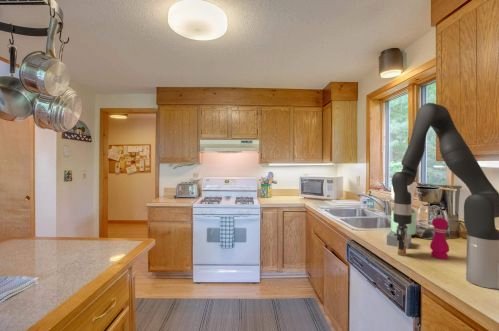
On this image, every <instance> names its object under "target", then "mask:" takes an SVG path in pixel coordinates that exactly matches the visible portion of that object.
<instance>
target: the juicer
mask: <svg viewBox="0 0 499 331" xmlns="http://www.w3.org/2000/svg"><path fill="white" fill-rule="evenodd" d="M407 188H408V192H410V193H411V207H412V223H411V224H406V226H407V227H408V229H407V235H411V237H415V236H414V235H416V234H417V233H416V231H417V230H416V223H417V221H416V220H417V216H416V214H417V213H416V211H415V209H414V208H413V204H414V198H415V194H416V189H417V179H415V180H414V182H413V183H412V184H411V185H409V186H407ZM390 192H391V194H390V195H391V196H390V197H391V199H392V201H393V202H394V195H395V194H394V191H393V186H392V185H391V191H390ZM390 212H391V213H390V215H391V216H390V232H395V233H397V231H396V230H397V226H398V225H399V224H398V223H395V222H394V221H393V212H394V207H392V209H391V211H390Z"/></svg>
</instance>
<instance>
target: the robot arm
mask: <svg viewBox="0 0 499 331" xmlns="http://www.w3.org/2000/svg"><path fill="white" fill-rule="evenodd" d="M415 116H416V117H415V120H414V125H413V129H412V132H411V136H410V139H409V142H408V143H409V144H408V145H407V148H406V150H405V153H404V155H403V157H402V158H401V159H402V160H401V165H402V169H401V171H397V172H395V173H393V175H392V176H391V187H392V186H393V191H394V194H395V195H394V201H393V208H394V212H393V221H394V222H395V223H398V224H399V225H398V226H397V230H396V231H397V241H398V247H397V250H398V249H400V250H404V237H406V238H407V229H408V227H407V226H406V224H411V223H412V209H413V206H412V207H411V193H410V192H408V188H407V186H409V185H411V184H412V183H413V182H414V180H416V177H417V174H418V169H419V168H418V167H419V165H420V163H421V162H422V159H423V157H424V153H425V150H426V139H427V134H428V132H429V130H430V127H431V128H432V129H433V131H434V132H435V135H437V138H438V142H439V145H438V146H439V153H440V155H441V157H442V159H443V161H444V163H445V164H446V166H447V167H448V170H449V171H450V172H452V173H453V174H454V175H455V176H456V177H457V178H458V179H459V180H461V182H462V183H464V184H465V186H466V188H468V190H469V192H470V195H468V196H467V197H466V198H465V200H464V204H463V219H464V220H463V223H464V227H465V229H466V258H465V260H466V262H465V264H466V265H465V266H466V268H465V269H466V270H465V272H466V273H465V279H466V280H467V282H469V283H471V284H473V285H476V286H479V287H482V288H488V289H495V290H496V289H497V290H499V229H497V228H496V222H495V221H496V218H499V192H498V190H497V189H496V188H495V187H494V185H493V184H492V183H491V182H490V180H489V179H488V177H487V176H486V174H485V172H484V170H483V168H481V166H480V164H479V162H478V161H477V159H476V157H475V156H474V153H473V152H472V150H471V148H470V147H469V146H468V145H467V143H466V141H465V140H464V138H463V137H462V135H461V133H460V132H459V130H458V129H457V127H456V125H455V124H454V121H453V119H452V116H451V113H450V111H449V110H448V109H447V107H445V106H444V105H441V104H438V103H434V102H428V103H424V104H423V105H421V106H420V108H418V111H417V113H416V115H415ZM400 237H401V238H402V239H400Z"/></svg>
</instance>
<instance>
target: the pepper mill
mask: <svg viewBox="0 0 499 331" xmlns="http://www.w3.org/2000/svg"><path fill="white" fill-rule="evenodd" d="M431 225H432V226H433V229H432V230H433V232H434V233H433V234H434V235H433V238H432V240H431V242H430V244H429V247H430V249H431V253H430V256H431V257H433V258H436V259H438V258H439V259H440V260H447V259H449V255H448V253H449V252H450V247H449V244H448V242H447V240H446V233H447V228H448V227H449V223H448V221H447V220H446V219H445V218H443V215H441V214H438V215H437V217H436V218H434V219H432V222H431Z"/></svg>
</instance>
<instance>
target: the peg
mask: <svg viewBox="0 0 499 331" xmlns="http://www.w3.org/2000/svg"><path fill="white" fill-rule="evenodd" d="M400 239H402V238H401V237H400ZM397 255H398V256H401V257H406V256H407V249H406V237H404V250H400V249H398V248H397Z"/></svg>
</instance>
